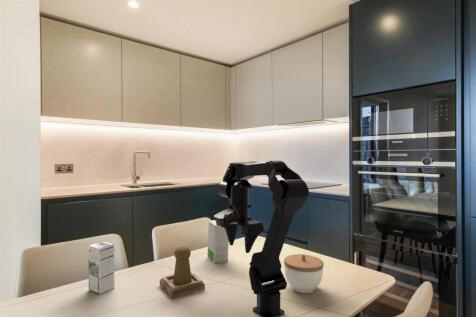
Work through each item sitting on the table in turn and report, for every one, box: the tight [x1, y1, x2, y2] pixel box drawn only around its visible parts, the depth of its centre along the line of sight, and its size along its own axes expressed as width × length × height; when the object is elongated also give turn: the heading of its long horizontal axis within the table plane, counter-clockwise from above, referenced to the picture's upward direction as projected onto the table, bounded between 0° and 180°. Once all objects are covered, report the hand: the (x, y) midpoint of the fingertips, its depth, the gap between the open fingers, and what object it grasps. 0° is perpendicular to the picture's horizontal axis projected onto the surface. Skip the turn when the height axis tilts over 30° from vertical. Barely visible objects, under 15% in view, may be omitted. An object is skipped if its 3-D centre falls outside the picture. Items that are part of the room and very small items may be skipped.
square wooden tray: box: [159, 271, 206, 300], centre depth 96 cm, size 11×11×3 cm
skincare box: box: [207, 219, 230, 264], centre depth 122 cm, size 8×7×16 cm
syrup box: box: [87, 241, 115, 295], centre depth 94 cm, size 6×6×14 cm
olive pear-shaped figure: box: [173, 246, 192, 285], centre depth 96 cm, size 6×6×11 cm
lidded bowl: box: [283, 253, 324, 294], centre depth 96 cm, size 13×13×11 cm
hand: (239, 249), depth 95 cm, fingers open, 9 cm apart
